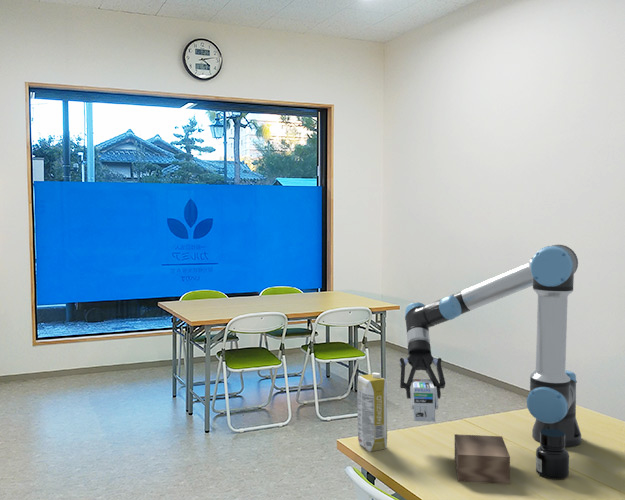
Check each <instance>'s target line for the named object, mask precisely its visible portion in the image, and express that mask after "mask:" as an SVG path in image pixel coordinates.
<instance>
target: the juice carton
mask: <svg viewBox="0 0 625 500" xmlns="http://www.w3.org/2000/svg"><path fill="white" fill-rule="evenodd" d="M356 389H357V390H356V391H357V399H356V400H357V401H356V402H357V440H358V444H359V445H360V446H361V447H362V448H364V449H366V450H367V451H368V452H374V451H380V450H386V449H387V446H388V386H387V379H386V378H383V377H381V373H379V372H372V373H370V374H363V375H361V374H360V375H358V376H357V388H356Z"/></svg>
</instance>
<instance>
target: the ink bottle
mask: <svg viewBox="0 0 625 500" xmlns="http://www.w3.org/2000/svg"><path fill="white" fill-rule="evenodd" d="M539 444H540V446H538V447H537V448H536V449H535V471H536V474H538V475H539V476H541V477H544V478H547V479H552V480H564V479H567V478H568V477H569V474H570V453H569V451H568V450H567V449H566V447H565V433H564V432H562V431H560V430H556V429H543V430H541V431H540V442H539Z"/></svg>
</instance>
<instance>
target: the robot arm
mask: <svg viewBox="0 0 625 500" xmlns="http://www.w3.org/2000/svg"><path fill="white" fill-rule="evenodd" d="M578 260H579V259H578V255H577V254H576V253H575V251H574V250H573V249H572V248H570V247H569V246H567V245H563V244H554V245H548V246H544V247H542V248H540V249H539V250H537V252H535V254H534V255H533V257H531V258H530V259H529V261H528V262H527V263H525V264H521V265H519V266H517V267H515V268H513V269H512V268H511V269H510V270H508V271H505V272H503V273H501V274H497V275H496V276H494V277H491V278H489V279H487V280H486V279H485V280H484V281H482V282H479V283H476V284H474V285H472V286H470V287H468V288H465V289H462V290H461V291H458V292H456V293H452V294H451V295H448V296H445V297H442V298H440V299H437V300H436V301H433V302H430V303H429V304H427V305H426V304H424V303H423V302H422V303H421V302H412V303H409V304H408V305H407V306H406V307H405V310H404V311H405V315H404V319H405V320H404V321H405V327H406V343H407V354H408V355H407V357H406V358H403V357H400V358H399V366H400V379H399V380H400V382H399V384H400V386H399V387H400V389H405V393H406V399H410V401H409V402H410V409H411V410H413V409H414V399H413V386H412V380H413V379H414V377H415V374H416V372H417V371H425V373H426V374H427V375H428V378H429V379H431V380H432V381H433V385H434V387H435V410H439V399H441V396H442V395H441V389H445V387H446V380H445V376H444V372H443V369H442V368H443V367H442V358H441V357H438V358H434V356H432V350H431V349H432V347H431V339H430V332H429V331H430V328H431V327H435V326H437V325H440V324H443V323H445V322H448V321H451V320H455V319H457V318H458V317H459V316H461V315H464V314H465V313H468V312H470V311H473V310H475V309H477V308H480V307H482V306H483V307H484V306H485V305H488V304H490V303H494V302H496V301H498V300H500V299H503V298H506V297H507V296H510V295H513V294H516V293H518V292H521V291H523V290H525V289H528V288H530V287H532V290H533V291H534V292H535V293H536V295H537V309H536V310H537V311H536V344H535V345H536V349H535V350H536V351H535V370H534V371H533V372H532V373H530V376H529V378H530V379H529V393H528V395H527V397H526V408H527V410H528V411H529V414H530V415H531V416H532V417H533V418H534V419H535V422H534V424H533V427H532V432H531V433H532V435H531V436H532V438H533V440H535V441H536V442H539V443H540V431H541V430H543V429H556V430H560V431H562V432H564V433H565V447H564V448H567V447H568V448H569V447H576V446H578V445H581V444H582V433H581V430H580V426H579V424H578V420H577V417H576V416H577V415H576V413H577V412H576V411H577V409H576V408H577V382H578V381H577V374H576V373H575V372H573V371H571V370H566V364H567V363H566V360H567V359H566V357H567V356H566V355H567V331H568V330H567V329H568V327H567V326H568V299H569V296H570V294H572V292H573V291H574V282H575V281H574V279H575V276H574V275H575V274H576V272H577V271H578V266H579V261H578ZM432 363H433V364H434V367H436V372H437V377H438V378H437V377H436V374H435V373H434V371H433V369H432ZM408 364H409V365H410V367H411V369H410V372H409V375H408V378H407V382H405V374H406V366H407V365H408Z"/></svg>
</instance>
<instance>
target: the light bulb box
mask: <svg viewBox="0 0 625 500" xmlns="http://www.w3.org/2000/svg"><path fill="white" fill-rule="evenodd" d="M411 386H413V399H414V409H412V415H413V421H414V422H427V423H429V422H432V423H433V422H436V409H435V387H434V385H433V381H432V380H431V379H430V378H427V379H425V378H413V380H412V383H411Z"/></svg>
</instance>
